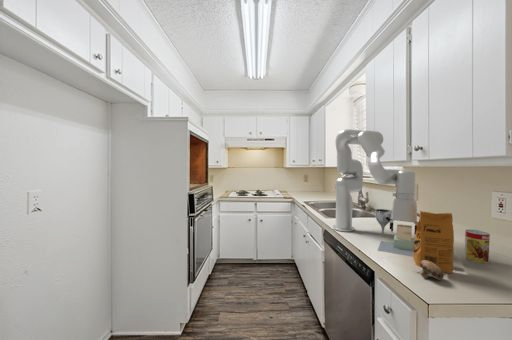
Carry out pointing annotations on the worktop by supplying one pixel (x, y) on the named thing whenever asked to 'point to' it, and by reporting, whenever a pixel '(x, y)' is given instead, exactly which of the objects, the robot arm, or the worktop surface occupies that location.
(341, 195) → the robot arm
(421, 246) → the coffee package
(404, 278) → the worktop surface
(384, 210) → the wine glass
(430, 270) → the mushroom
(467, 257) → the canned food
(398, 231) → the maple cube
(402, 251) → the building board
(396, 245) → the sage slab
